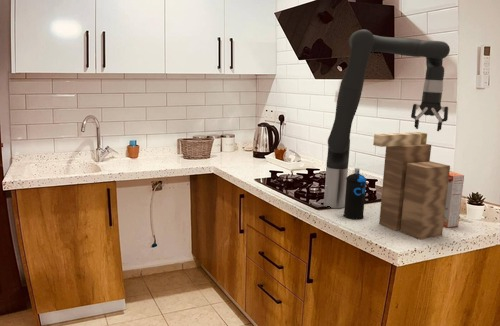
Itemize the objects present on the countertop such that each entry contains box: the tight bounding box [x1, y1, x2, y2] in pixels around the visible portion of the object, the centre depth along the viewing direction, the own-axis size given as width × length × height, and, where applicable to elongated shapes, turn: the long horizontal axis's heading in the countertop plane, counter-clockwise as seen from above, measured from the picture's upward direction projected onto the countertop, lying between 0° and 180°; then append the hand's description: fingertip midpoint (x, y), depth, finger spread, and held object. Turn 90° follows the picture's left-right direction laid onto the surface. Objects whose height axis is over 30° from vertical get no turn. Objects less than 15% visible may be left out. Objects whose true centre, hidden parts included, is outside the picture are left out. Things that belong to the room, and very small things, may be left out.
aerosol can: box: [343, 167, 368, 220], centre depth 192 cm, size 8×8×20 cm
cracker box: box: [443, 170, 465, 228], centre depth 188 cm, size 14×6×21 cm, turn 21°
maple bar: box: [372, 131, 428, 148], centre depth 176 cm, size 23×4×4 cm, turn 119°
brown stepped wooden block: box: [378, 143, 451, 240], centre depth 177 cm, size 14×19×32 cm
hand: (427, 129), depth 200 cm, fingers open, 8 cm apart
